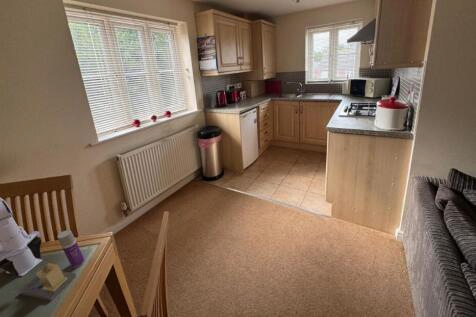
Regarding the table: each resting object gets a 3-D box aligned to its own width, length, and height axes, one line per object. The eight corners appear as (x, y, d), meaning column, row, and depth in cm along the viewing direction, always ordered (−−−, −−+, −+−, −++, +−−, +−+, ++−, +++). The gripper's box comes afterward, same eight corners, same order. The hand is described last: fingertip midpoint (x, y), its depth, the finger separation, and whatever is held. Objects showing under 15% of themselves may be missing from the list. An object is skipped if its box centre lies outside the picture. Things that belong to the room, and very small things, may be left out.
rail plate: (20, 294, 84) (18, 290, 83) (47, 271, 93) (45, 267, 92) (51, 301, 80) (49, 297, 80) (76, 276, 89) (74, 273, 89)
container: (78, 268, 93) (64, 238, 87) (68, 267, 94) (53, 237, 88) (87, 259, 97) (74, 230, 91) (78, 258, 98) (64, 229, 92)
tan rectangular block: (44, 287, 84) (36, 273, 81) (56, 277, 88) (48, 263, 85) (53, 289, 82) (45, 275, 80) (65, 278, 86) (58, 264, 84)
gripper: (-9, 253, 70) (12, 285, 75) (40, 222, 83) (55, 251, 88) (-25, 250, 72) (-3, 282, 77) (25, 220, 85) (41, 249, 90)
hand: (27, 265), depth 83 cm, fingers open, 7 cm apart
